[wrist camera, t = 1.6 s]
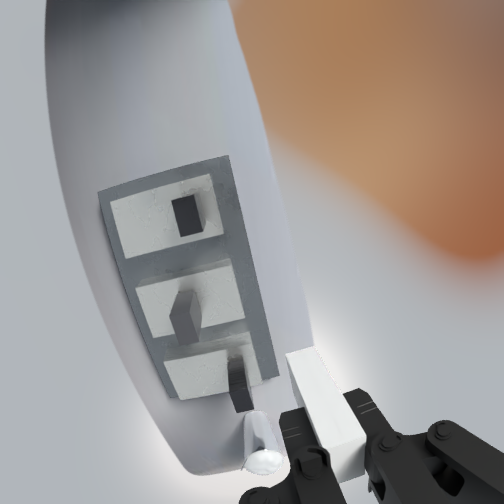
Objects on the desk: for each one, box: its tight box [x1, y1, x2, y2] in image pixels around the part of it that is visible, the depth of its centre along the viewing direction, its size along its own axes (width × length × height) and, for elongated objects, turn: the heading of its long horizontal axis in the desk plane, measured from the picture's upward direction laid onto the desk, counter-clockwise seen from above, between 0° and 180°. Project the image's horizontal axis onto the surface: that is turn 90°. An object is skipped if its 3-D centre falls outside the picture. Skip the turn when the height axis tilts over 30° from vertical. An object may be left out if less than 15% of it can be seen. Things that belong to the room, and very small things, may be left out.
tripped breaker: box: [169, 290, 202, 346], centre depth 24 cm, size 3×2×5 cm, turn 13°
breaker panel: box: [98, 155, 280, 413], centre depth 27 cm, size 24×13×10 cm, turn 13°
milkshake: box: [241, 410, 284, 475], centre depth 31 cm, size 4×5×10 cm
